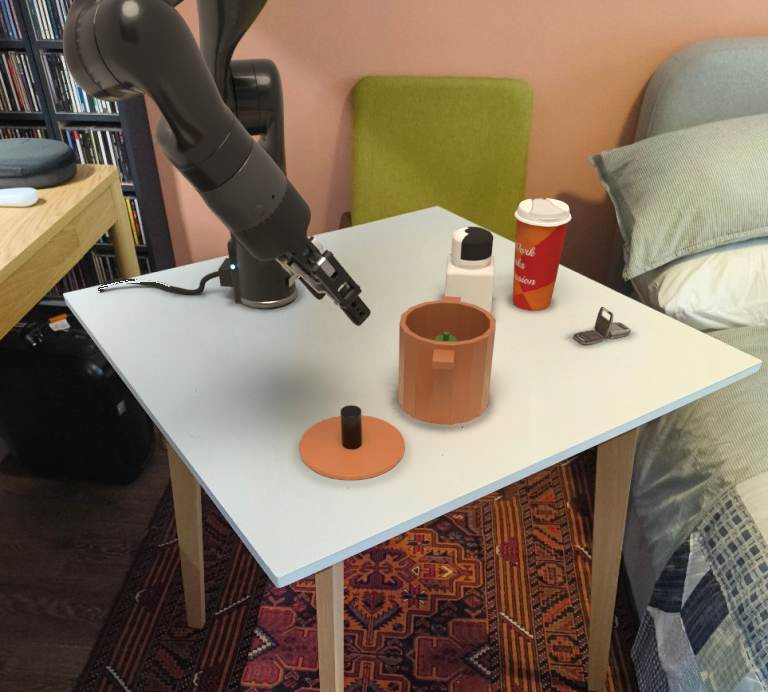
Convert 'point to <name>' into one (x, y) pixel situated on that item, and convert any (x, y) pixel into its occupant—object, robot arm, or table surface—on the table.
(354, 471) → the lid
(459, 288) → the medicine bottle
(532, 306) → the coffee cup
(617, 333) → the strap clip
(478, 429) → the table surface
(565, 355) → the table surface
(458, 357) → the pot
